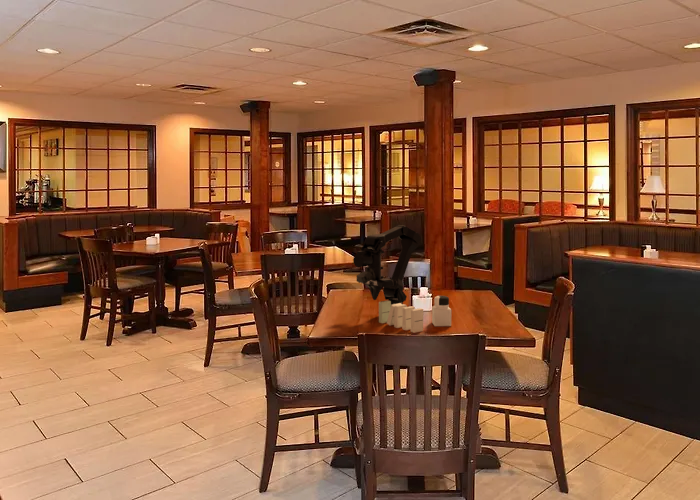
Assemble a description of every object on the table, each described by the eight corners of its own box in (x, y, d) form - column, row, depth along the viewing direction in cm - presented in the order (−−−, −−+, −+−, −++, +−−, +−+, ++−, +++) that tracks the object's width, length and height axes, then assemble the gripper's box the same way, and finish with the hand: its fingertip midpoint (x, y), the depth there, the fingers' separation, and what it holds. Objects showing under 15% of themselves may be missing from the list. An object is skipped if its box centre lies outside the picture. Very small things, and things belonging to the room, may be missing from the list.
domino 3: (402, 329, 255) (402, 307, 254) (411, 327, 258) (411, 306, 257) (405, 330, 253) (405, 308, 252) (414, 328, 256) (414, 307, 255)
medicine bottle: (448, 322, 266) (448, 294, 265) (451, 326, 259) (451, 297, 258) (431, 322, 266) (431, 294, 265) (434, 326, 259) (434, 298, 257)
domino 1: (386, 323, 262) (391, 304, 259) (395, 321, 265) (400, 303, 262) (389, 325, 261) (394, 307, 258) (398, 323, 264) (403, 305, 261)
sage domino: (378, 322, 267) (378, 301, 266) (387, 320, 270) (387, 300, 268) (381, 323, 265) (381, 302, 264) (390, 321, 268) (390, 301, 267)
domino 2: (394, 327, 259) (394, 305, 258) (403, 325, 262) (403, 304, 261) (397, 327, 257) (397, 306, 256) (406, 326, 260) (406, 304, 259)
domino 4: (410, 331, 251) (410, 309, 250) (419, 329, 254) (419, 308, 253) (414, 332, 249) (414, 310, 248) (423, 330, 252) (423, 309, 251)
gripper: (346, 264, 272) (347, 298, 274) (373, 269, 258) (373, 306, 260) (366, 261, 279) (366, 295, 281) (393, 266, 264) (394, 302, 266)
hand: (374, 299), depth 272 cm, fingers closed
